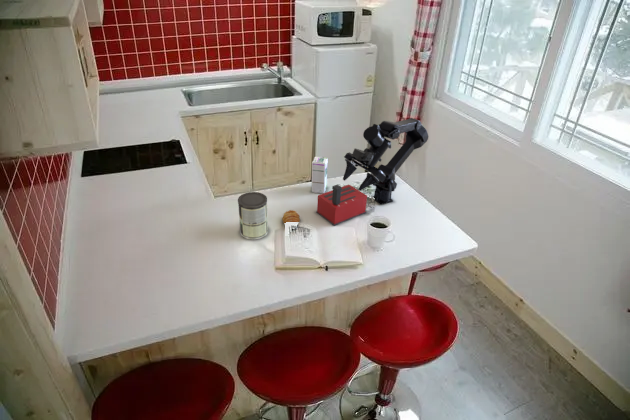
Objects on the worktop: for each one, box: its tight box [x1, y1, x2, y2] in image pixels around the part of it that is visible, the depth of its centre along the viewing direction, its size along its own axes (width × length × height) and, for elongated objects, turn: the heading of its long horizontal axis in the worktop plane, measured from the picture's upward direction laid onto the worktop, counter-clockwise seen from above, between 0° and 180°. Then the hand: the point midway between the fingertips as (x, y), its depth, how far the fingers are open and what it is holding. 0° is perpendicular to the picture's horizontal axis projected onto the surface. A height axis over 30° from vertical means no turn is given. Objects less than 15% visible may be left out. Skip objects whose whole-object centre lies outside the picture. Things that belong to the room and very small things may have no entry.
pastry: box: [281, 209, 301, 224], centre depth 166 cm, size 9×7×4 cm
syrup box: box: [311, 156, 329, 194], centre depth 186 cm, size 6×6×14 cm
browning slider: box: [331, 184, 343, 205], centre depth 163 cm, size 2×3×7 cm
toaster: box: [316, 184, 368, 227], centre depth 173 cm, size 16×11×8 cm
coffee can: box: [237, 191, 269, 241], centre depth 158 cm, size 10×10×14 cm
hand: (351, 184), depth 167 cm, fingers open, 9 cm apart
